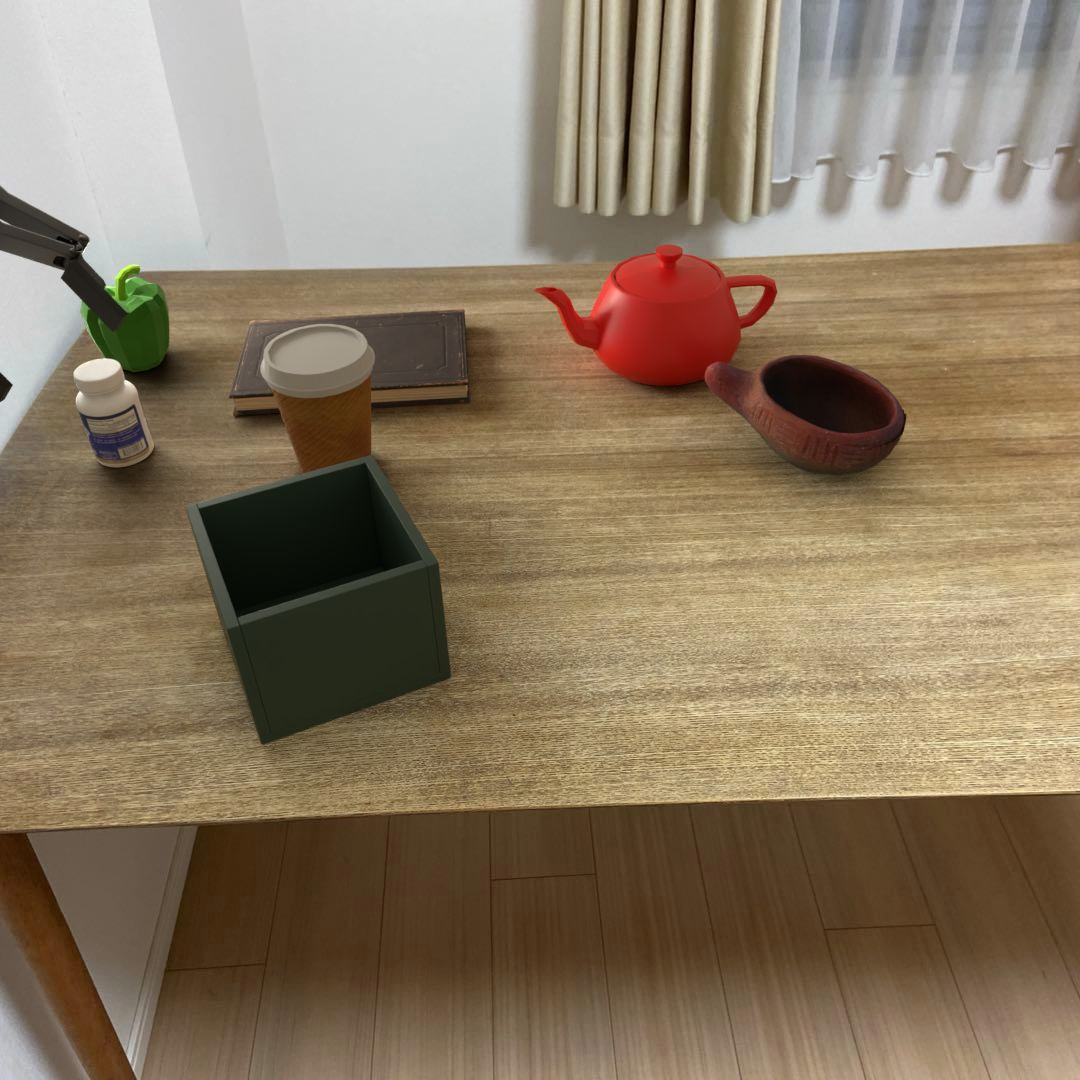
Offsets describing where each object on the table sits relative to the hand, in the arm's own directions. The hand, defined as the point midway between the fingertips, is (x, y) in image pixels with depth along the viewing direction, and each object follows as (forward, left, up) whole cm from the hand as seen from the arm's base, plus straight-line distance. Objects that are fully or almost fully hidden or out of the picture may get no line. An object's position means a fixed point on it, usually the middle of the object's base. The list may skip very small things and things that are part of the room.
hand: (66, 357), depth 90 cm
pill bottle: (+2, -3, -9) cm, 10 cm away
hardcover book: (+26, +2, -9) cm, 28 cm away
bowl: (+57, -32, -9) cm, 66 cm away
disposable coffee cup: (+19, -14, -9) cm, 25 cm away
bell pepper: (+6, +14, -9) cm, 18 cm away
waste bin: (+12, -36, -9) cm, 39 cm away
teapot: (+54, -11, -9) cm, 56 cm away
